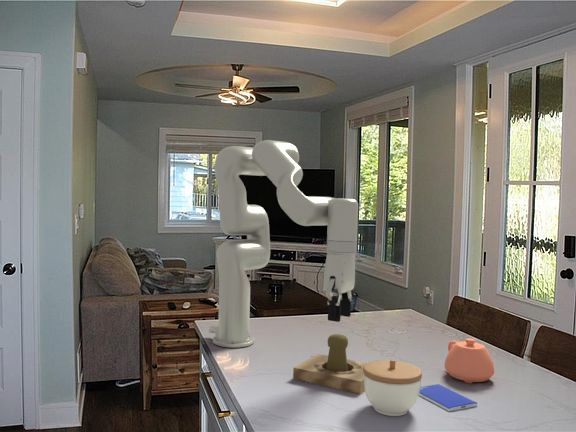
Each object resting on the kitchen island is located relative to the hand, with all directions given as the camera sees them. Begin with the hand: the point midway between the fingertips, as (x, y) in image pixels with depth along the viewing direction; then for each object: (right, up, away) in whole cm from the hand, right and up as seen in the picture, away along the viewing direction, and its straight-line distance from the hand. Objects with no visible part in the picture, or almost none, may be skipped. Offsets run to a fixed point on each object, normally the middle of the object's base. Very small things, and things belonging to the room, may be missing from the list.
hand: (339, 317), depth 139 cm
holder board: (0, -16, +1) cm, 16 cm away
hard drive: (+23, -18, -11) cm, 31 cm away
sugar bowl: (+34, -17, +5) cm, 38 cm away
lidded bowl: (+10, -17, -18) cm, 27 cm away
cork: (-1, -16, +1) cm, 16 cm away
